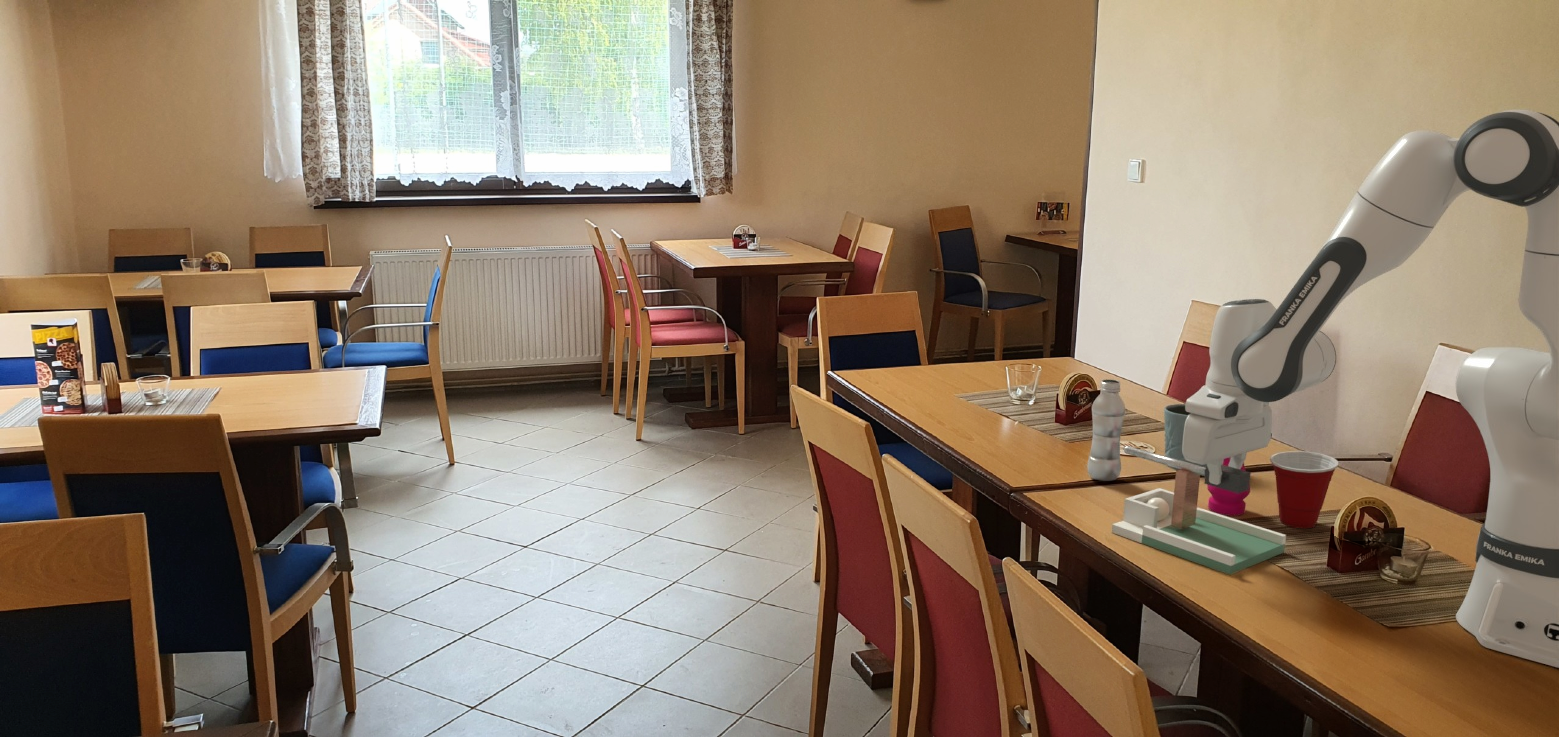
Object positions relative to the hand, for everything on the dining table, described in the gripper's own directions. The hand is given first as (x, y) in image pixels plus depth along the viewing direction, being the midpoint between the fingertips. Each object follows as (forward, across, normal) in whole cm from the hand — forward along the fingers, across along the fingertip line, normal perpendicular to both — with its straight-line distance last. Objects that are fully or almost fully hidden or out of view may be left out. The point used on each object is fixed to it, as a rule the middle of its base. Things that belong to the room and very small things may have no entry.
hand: (1223, 480), depth 174 cm
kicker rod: (+10, 0, -8) cm, 12 cm away
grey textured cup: (+12, -37, -30) cm, 49 cm away
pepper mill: (+12, -19, -10) cm, 25 cm away
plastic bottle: (+12, -15, -34) cm, 39 cm away
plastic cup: (+12, -23, +1) cm, 26 cm away
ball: (+8, 0, -12) cm, 14 cm away
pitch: (+12, 0, -4) cm, 12 cm away
